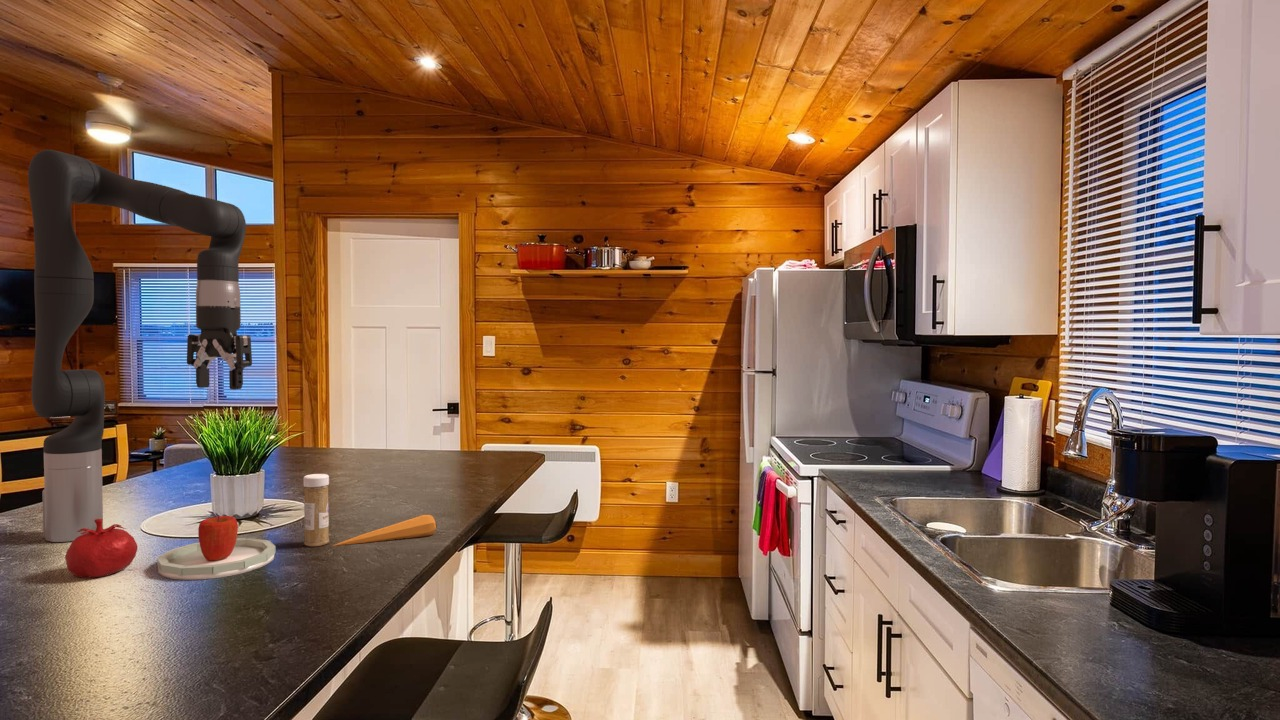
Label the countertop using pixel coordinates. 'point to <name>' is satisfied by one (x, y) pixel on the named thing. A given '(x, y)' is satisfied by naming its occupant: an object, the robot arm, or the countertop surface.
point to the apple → (217, 537)
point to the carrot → (398, 531)
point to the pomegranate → (100, 551)
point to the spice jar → (316, 509)
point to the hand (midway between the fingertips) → (219, 388)
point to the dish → (194, 565)
